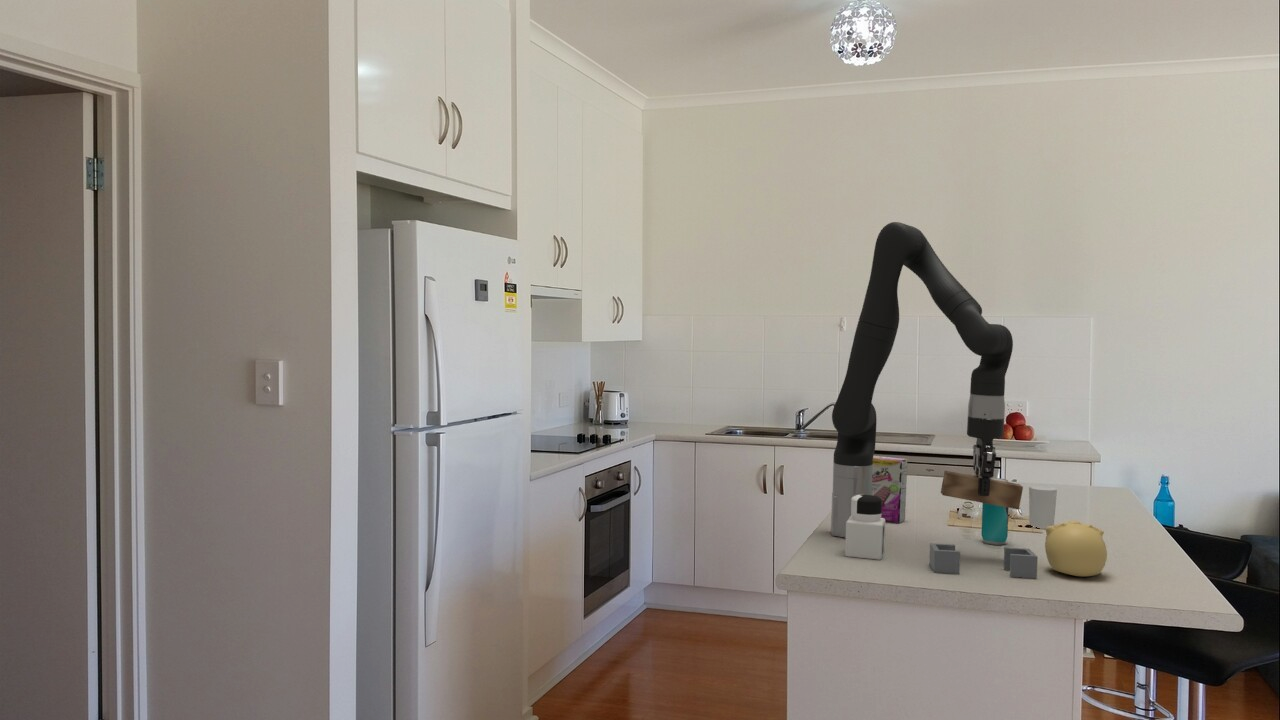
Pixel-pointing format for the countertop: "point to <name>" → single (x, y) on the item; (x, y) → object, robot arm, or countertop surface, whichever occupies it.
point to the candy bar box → (890, 486)
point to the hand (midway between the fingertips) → (981, 493)
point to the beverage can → (994, 522)
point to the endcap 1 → (944, 558)
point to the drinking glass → (1042, 506)
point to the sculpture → (1075, 548)
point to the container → (865, 528)
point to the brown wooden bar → (968, 490)
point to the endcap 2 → (1020, 562)
